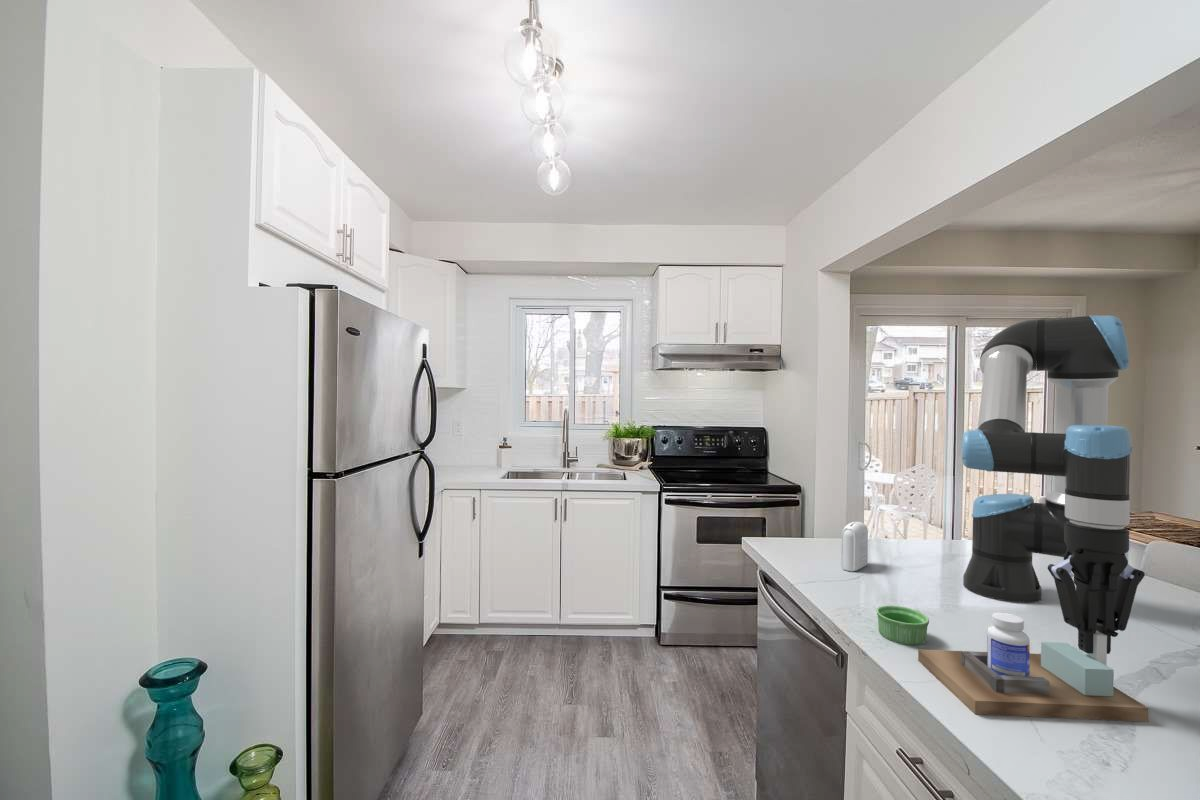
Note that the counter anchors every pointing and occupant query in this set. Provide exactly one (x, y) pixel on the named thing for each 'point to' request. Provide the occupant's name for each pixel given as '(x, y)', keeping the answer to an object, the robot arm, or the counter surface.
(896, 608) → the ramekin
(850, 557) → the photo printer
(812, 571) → the counter surface
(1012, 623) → the pill bottle
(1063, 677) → the pale blue rectangular block
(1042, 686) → the cradle
